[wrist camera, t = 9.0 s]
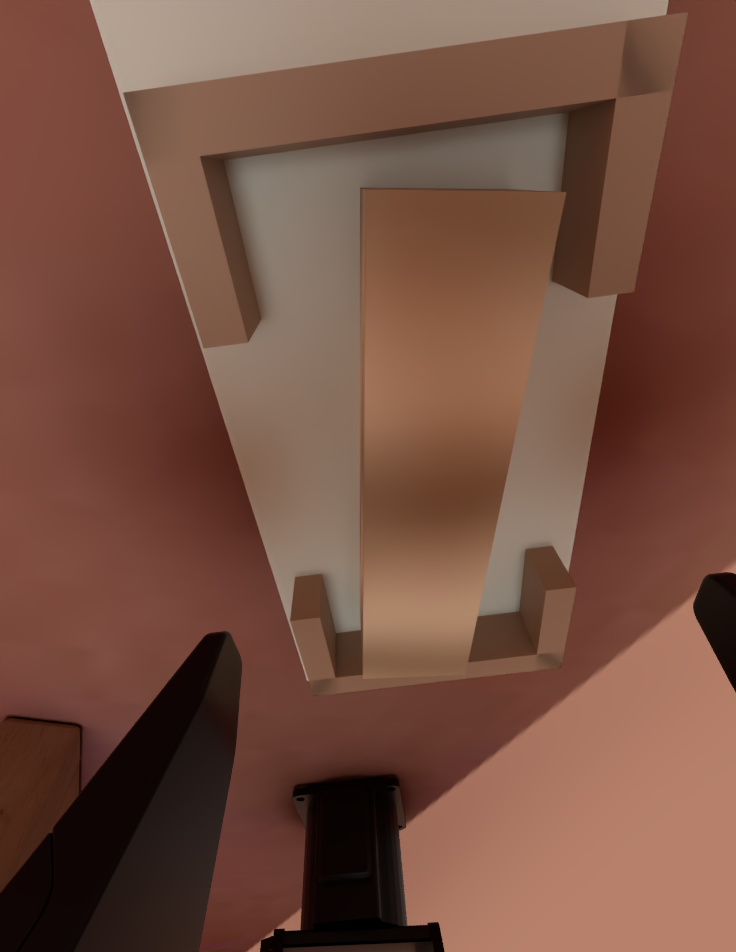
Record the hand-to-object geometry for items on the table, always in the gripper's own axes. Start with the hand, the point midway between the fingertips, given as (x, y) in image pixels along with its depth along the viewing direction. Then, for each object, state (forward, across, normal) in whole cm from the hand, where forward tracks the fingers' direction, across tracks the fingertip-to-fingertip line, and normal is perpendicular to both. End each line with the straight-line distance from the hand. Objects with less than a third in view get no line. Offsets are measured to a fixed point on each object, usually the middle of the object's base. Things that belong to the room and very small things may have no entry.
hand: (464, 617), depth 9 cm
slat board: (+8, 0, 0) cm, 8 cm away
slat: (+6, 0, 0) cm, 7 cm away
